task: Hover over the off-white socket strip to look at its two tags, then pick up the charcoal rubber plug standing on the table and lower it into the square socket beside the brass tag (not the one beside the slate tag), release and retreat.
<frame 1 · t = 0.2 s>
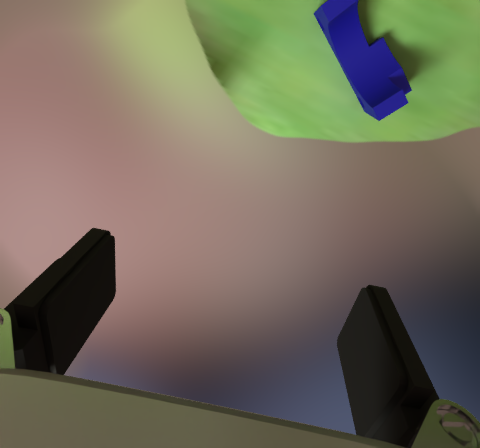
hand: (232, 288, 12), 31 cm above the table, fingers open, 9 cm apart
blue notched block: (358, 52, 34), on the table
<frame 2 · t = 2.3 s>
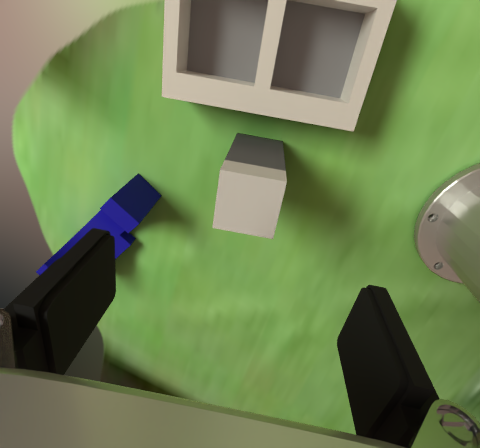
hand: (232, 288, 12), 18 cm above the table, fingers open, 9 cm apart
socket strip: (270, 44, 24), on the table
blue notched block: (120, 222, 33), on the table
plug: (255, 159, 28), on the table
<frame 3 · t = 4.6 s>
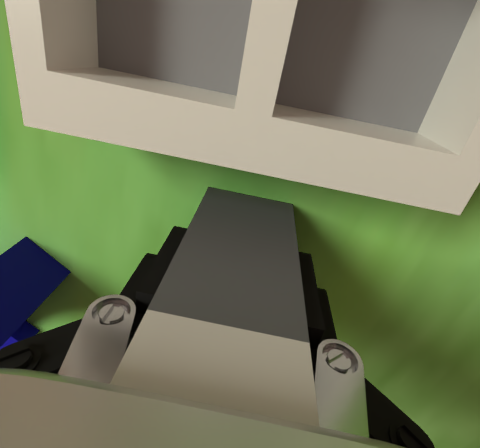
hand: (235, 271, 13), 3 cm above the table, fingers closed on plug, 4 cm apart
socket strip: (275, 15, 11), on the table
blue notched block: (14, 305, 20), on the table
plug: (242, 231, 15), on the table, touching gripper
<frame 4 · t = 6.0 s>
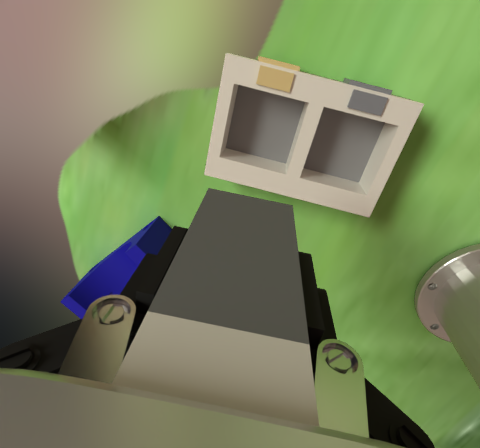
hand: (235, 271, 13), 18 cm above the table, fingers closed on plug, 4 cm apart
socket strip: (301, 131, 27), on the table
blue notched block: (138, 256, 36), on the table
plug: (242, 232, 16), point 15 cm above the table, touching gripper
when the fingers open (5 cm above the table, at t = 8.0 s): plug stays where it is, resting on socket strip.
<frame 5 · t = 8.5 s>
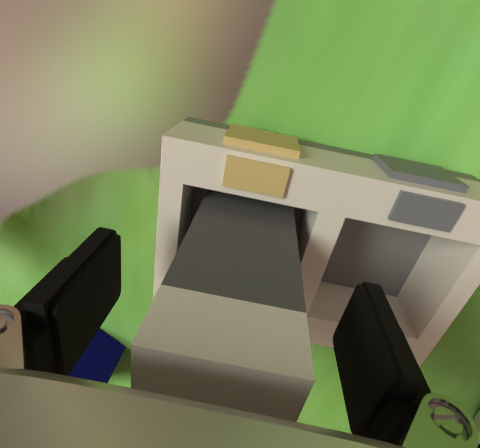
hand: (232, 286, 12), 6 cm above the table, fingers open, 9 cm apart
socket strip: (304, 225, 17), on the table
blue notched block: (78, 367, 26), on the table
plug: (245, 222, 16), point 1 cm above the table, touching socket strip
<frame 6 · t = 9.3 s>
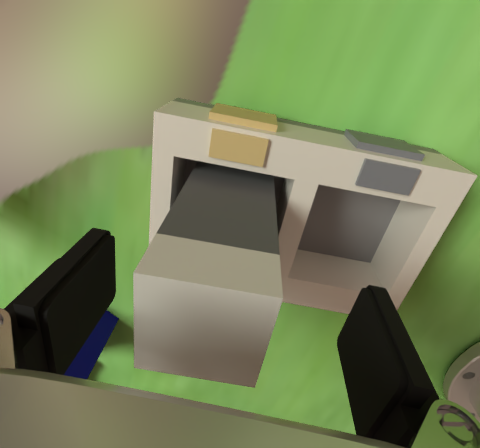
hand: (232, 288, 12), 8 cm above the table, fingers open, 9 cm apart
socket strip: (285, 198, 19), on the table
blue notched block: (74, 342, 27), on the table
plug: (231, 196, 18), point 1 cm above the table, touching socket strip
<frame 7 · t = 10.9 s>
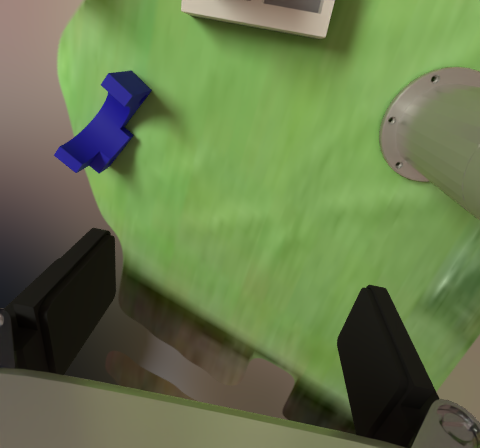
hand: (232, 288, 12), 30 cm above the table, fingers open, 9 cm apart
blue notched block: (120, 121, 40), on the table
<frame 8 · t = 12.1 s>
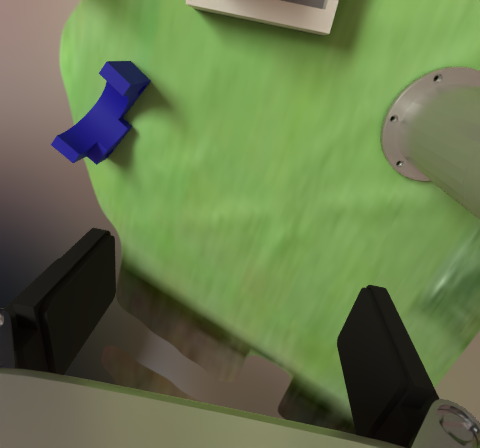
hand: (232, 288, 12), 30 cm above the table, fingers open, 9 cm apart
blue notched block: (119, 112, 39), on the table
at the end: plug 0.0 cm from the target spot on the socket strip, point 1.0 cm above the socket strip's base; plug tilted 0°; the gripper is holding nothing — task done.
